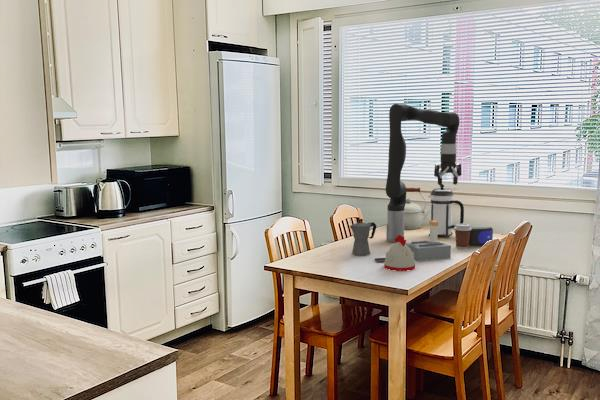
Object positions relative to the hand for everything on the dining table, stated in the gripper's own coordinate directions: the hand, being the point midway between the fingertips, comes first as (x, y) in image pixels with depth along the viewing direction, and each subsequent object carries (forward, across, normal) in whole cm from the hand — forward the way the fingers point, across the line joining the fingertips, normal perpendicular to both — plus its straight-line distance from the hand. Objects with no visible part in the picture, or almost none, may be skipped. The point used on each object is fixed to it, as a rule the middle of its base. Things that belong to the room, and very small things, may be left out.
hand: (447, 184), depth 290 cm
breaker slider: (+28, +11, +7) cm, 31 cm away
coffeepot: (+34, +43, -8) cm, 55 cm away
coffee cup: (+34, -12, -4) cm, 37 cm away
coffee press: (+34, -19, -33) cm, 51 cm away
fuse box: (+34, +15, +7) cm, 38 cm away
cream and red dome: (+34, +38, +22) cm, 55 cm away
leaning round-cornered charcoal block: (+34, -23, -6) cm, 42 cm away
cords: (+34, +36, +10) cm, 50 cm away
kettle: (+34, -14, -63) cm, 73 cm away
